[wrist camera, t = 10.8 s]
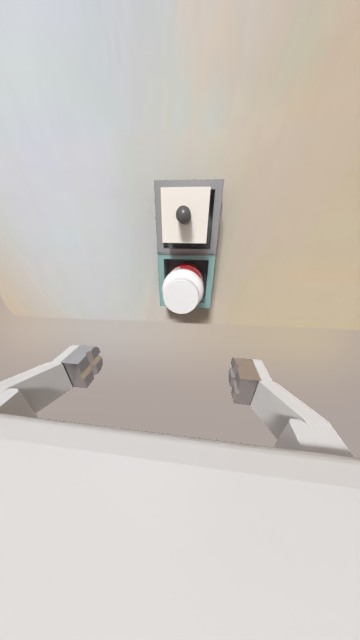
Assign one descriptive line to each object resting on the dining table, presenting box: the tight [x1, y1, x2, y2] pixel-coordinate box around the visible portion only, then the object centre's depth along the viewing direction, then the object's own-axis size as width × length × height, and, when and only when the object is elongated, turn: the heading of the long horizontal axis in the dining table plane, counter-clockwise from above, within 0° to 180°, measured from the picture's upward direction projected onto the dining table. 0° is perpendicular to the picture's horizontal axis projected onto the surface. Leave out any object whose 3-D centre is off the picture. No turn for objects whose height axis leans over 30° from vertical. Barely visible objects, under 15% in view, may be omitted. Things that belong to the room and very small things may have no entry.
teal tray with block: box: [154, 179, 224, 308], centre depth 24 cm, size 10×18×12 cm, turn 179°
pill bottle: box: [162, 263, 204, 314], centre depth 25 cm, size 6×6×11 cm
